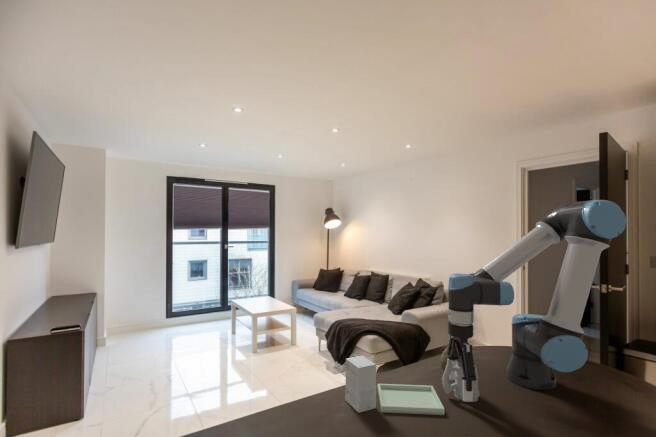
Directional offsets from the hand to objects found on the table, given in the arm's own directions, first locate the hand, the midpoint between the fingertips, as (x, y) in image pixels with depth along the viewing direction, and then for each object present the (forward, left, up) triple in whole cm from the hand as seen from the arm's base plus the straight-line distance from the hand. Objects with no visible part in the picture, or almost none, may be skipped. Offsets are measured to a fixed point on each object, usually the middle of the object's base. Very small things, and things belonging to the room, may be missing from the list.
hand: (460, 389), depth 108 cm
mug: (0, 0, -2) cm, 2 cm away
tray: (+17, +4, -2) cm, 18 cm away
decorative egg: (-2, -17, -2) cm, 17 cm away
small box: (+32, +7, -2) cm, 33 cm away
